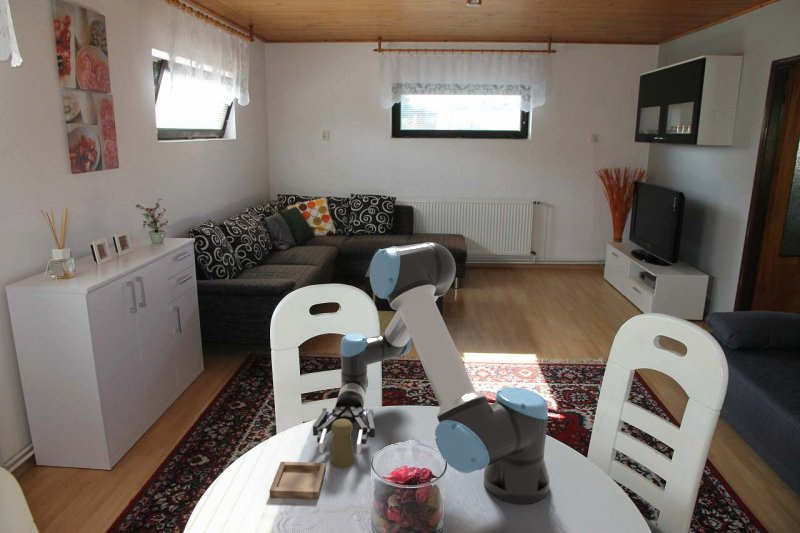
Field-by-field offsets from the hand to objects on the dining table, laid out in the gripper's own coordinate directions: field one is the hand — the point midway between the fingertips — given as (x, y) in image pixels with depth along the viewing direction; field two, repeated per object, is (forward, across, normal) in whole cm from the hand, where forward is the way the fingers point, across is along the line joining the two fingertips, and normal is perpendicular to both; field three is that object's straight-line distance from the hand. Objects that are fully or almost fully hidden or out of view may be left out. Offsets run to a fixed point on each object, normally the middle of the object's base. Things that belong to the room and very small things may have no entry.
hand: (339, 448), depth 136 cm
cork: (-5, 0, -7) cm, 8 cm away
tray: (+5, +9, -6) cm, 12 cm away
